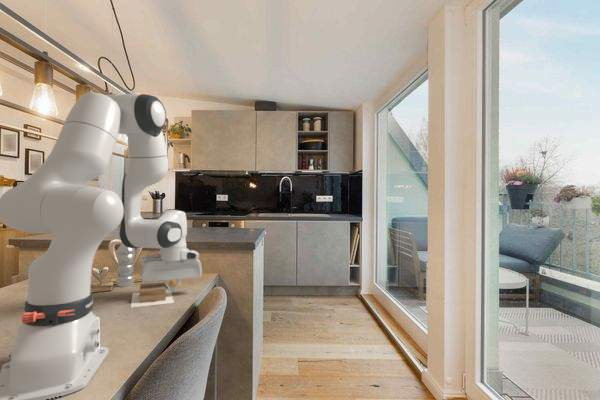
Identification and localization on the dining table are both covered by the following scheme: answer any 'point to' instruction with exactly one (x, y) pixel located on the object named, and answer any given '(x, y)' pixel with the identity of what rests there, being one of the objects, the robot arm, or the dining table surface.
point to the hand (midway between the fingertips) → (172, 292)
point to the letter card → (137, 303)
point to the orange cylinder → (173, 282)
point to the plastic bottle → (125, 266)
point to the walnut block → (152, 292)
